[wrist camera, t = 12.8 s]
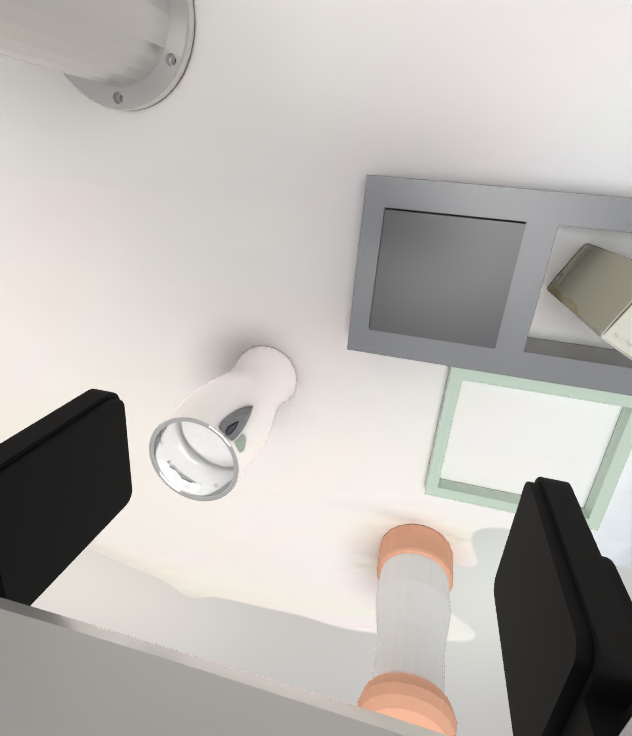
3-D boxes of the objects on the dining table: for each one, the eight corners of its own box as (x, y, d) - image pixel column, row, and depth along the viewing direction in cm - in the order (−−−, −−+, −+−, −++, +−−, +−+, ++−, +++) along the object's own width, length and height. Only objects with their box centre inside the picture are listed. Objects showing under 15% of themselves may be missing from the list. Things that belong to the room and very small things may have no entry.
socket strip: (374, 175, 36) (366, 174, 32) (726, 206, 31) (770, 211, 27) (355, 334, 41) (345, 351, 37) (655, 380, 37) (683, 406, 32)
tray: (451, 360, 40) (451, 366, 39) (644, 391, 37) (651, 399, 36) (425, 484, 45) (424, 493, 44) (592, 519, 42) (597, 530, 41)
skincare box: (544, 288, 36) (591, 336, 25) (588, 239, 34) (659, 267, 23) (611, 334, 36) (687, 401, 25) (659, 286, 34) (763, 337, 23)
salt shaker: (366, 546, 49) (328, 742, 32) (416, 511, 46) (404, 709, 29) (414, 589, 50) (402, 805, 33) (467, 558, 47) (485, 779, 30)
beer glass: (273, 327, 43) (197, 397, 29) (315, 389, 44) (261, 482, 30) (219, 362, 45) (126, 440, 32) (260, 419, 47) (188, 517, 33)
